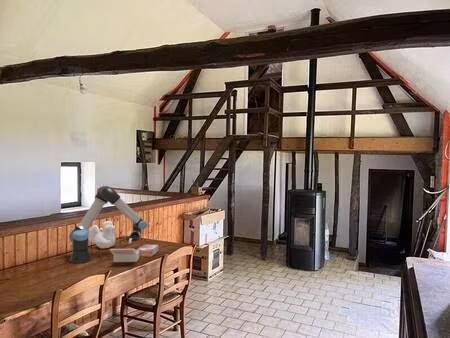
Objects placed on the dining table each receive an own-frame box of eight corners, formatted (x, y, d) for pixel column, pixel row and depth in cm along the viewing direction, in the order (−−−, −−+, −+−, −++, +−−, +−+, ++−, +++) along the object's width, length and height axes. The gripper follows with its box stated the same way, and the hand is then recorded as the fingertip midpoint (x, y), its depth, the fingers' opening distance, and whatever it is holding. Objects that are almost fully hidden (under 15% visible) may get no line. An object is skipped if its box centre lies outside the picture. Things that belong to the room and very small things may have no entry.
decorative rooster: (118, 246, 329) (118, 219, 328) (110, 250, 313) (110, 222, 313) (93, 244, 332) (93, 218, 332) (84, 248, 317) (84, 221, 316)
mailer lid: (109, 249, 262) (109, 249, 262) (134, 248, 264) (134, 249, 264) (113, 254, 274) (113, 254, 274) (136, 253, 276) (136, 254, 276)
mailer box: (117, 257, 289) (117, 250, 288) (139, 257, 290) (139, 249, 290) (113, 262, 275) (113, 254, 274) (136, 261, 276) (136, 254, 276)
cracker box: (159, 244, 311) (151, 250, 290) (159, 250, 311) (151, 257, 290) (143, 243, 312) (135, 249, 292) (143, 250, 312) (135, 256, 292)
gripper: (142, 239, 307) (137, 246, 283) (127, 240, 306) (121, 246, 282) (142, 231, 306) (137, 237, 283) (127, 231, 305) (121, 237, 282)
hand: (129, 241), depth 282 cm, fingers closed
